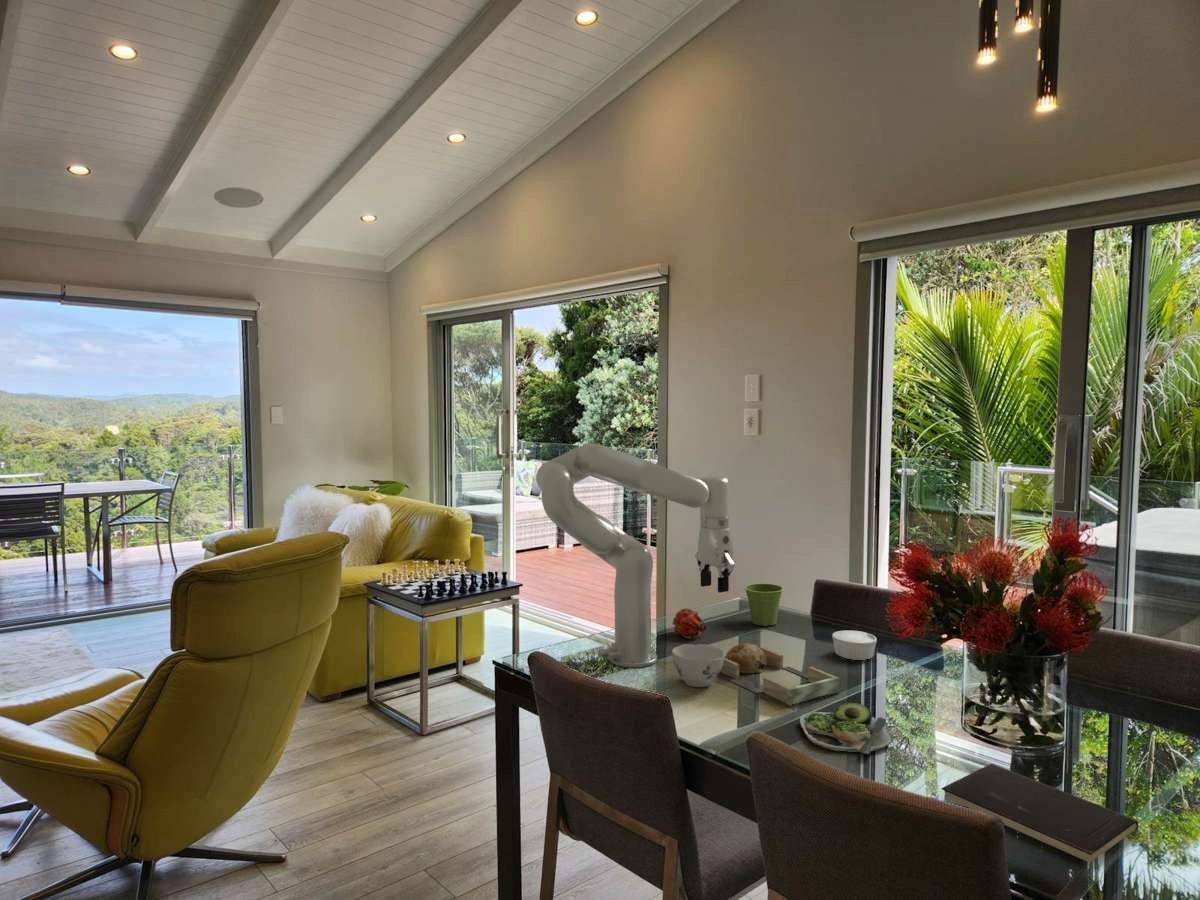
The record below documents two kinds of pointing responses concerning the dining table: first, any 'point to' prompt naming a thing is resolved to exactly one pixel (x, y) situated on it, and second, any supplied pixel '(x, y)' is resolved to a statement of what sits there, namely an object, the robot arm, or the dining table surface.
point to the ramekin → (854, 644)
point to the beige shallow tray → (817, 687)
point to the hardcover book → (1042, 811)
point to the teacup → (698, 663)
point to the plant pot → (764, 602)
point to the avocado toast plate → (848, 727)
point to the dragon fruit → (688, 623)
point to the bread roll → (748, 658)
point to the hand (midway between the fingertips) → (714, 588)
